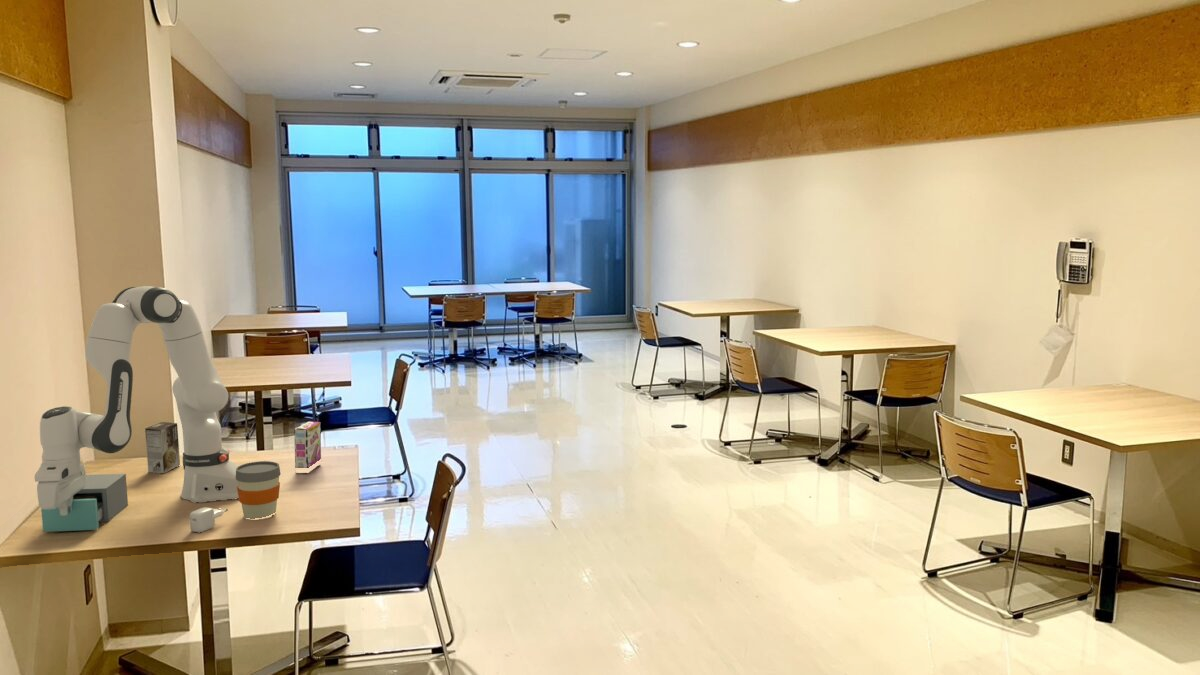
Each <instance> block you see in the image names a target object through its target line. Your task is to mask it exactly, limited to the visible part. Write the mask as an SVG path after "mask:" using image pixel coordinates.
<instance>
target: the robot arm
mask: <svg viewBox="0 0 1200 675" xmlns="http://www.w3.org/2000/svg"><path fill="white" fill-rule="evenodd" d="M151 323H152V324H153V323H156V324H157V325H158V326H159V328H160V331H161V335H162V338H163V341H164V344H165V348H166V351H167V354H168V358H169V360H170V364H171V366H172V367H173V369H174V371H175V372H176V374H177V376H178V377H176V379H175V380H174V381H173V383H172V389H171V391H172V394H173V396H174V398H175V403H176V405H177V406H176V407H177V411H178V416H179V419H180V423H181V428H182V440H183V452H182V467H183V470H184V472H183V473H184V474H183V484H182V490H181V492H180V497H181V498H182V499H184V500H188V501H191V503H193V502H194V503H195V504H197V503H196V502H199V503H207V501H210V502H217V501H216V500H221V501H228V500H227V499H232V500H236V499H235V498H239V496H238V491H237V486H238V483H237V480H236V468H237V467H238V466H239V465H238V464H236V463H235V462H233V461H232V460H230V456H229V455H230V450H229V449H228V450H225V449H224V448H223V447H222V446H223V445H222V444H223V442H222V426H221V423H220V422H219V419H218V416H217V412H219V411H221V410H223V409H224V408H225V406H226V405H227V404H228V402H229V392H228V390H227V388H226V386H225V385H224V383H223V381H222V379H221V376H220V374H219V372H218V370H217V367H216V366H215V364H214V362H213V360H212V358H211V355H210V352H209V350H208V347H207V343H206V339H205V336H204V332H203V329H202V326H201V324H200V320H199V318H198V316H197V313H196V312H195V309H194V308H193V306H192V304H190V302H188V301H186V300H182V299H179V298H178V296H176V294H175V293H173V292H172V291H171V290H169V289H167V288H165V287H162V286H152V285H150V286H149V285H144V286H131V287H127V288H124V289H123V290H121V291H120V292H119V293H118V294H117V295H116V296H115V298H114V300H112V302H108V303H104V304H102V305H100V306H99V307H98V308H97V310H96V312H95V314H94V317H93V319H92V322H91V325H90V328H89V331H88V334H87V338H86V343H85V360H86V362H87V363H88V364H89V366H90V367H91V368H92V369H94V371H97V372H98V373H99V374H100V375H101V376H102V378H103V379H104V380H105V383H106V387H107V388H106V389H107V390H106V399H105V401H106V402H105V410H104V415H103V414H98V413H92V412H84V411H82V410H81V411H80V410H77V409H75V408H73V407H72V406H65V405H64V406H59V407H54V408H51V409H48V410H47V411H45V412H44V413H43V414H42V415H41V418H40V422H39V442H40V445H41V447H42V454H41V464H40V466H39V468H38V470H37V471H36V473H35V474H34V481H35V482H37V485H36V492H37V493H36V494H37V503H38V506H39V507H40V510H41V509H43V510H49V509H55V508H57V507H58V508H59V510H60V515H61V516H63V515H67V514H68V513H70V512H71V511H72V508H71V506H72V502H73V495H75V494H76V493H77V492H79V491H80V490H82V489H83V488H84V487H86V483H87V479H86V475H87V474H86V473H87V472H86V468H85V465H84V464H83V463H82V461H81V451H80V450H81V449H83V448H88V449H92V450H97V451H99V452H100V451H101V452H103V453H105V454H115V453H119V452H120V451H122V450H123V449H125V447H126V446H127V445H128V444H129V442H130V440H131V438H132V434H133V432H132V424H131V423H132V422H131V405H132V395H133V394H132V393H133V381H134V380H133V379H134V378H133V377H134V374H133V373H134V371H133V367H132V365H131V346H132V343H133V337H134V336H133V335H134V332H135V331H136V328H137V327H138V326H139V325H140V324H151Z"/></svg>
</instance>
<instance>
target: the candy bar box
mask: <svg viewBox="0 0 1200 675" xmlns="http://www.w3.org/2000/svg"><path fill="white" fill-rule="evenodd" d="M321 439H322V437H321V422H320V421H307V422H305V423H302V424H301V425H299V426H297V427H295V428H294V459H295V460H294V467H295V468H309V467H310V466H312V465H313V464H315V463H316V462H317V461H319V460H320V459H321V460H322V447H321V446H322V442H321V441H322V440H321ZM295 468H294V469H295Z"/></svg>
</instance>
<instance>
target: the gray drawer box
mask: <svg viewBox="0 0 1200 675" xmlns="http://www.w3.org/2000/svg"><path fill="white" fill-rule="evenodd" d="M86 479H87V483H86V487H84V488H83V489H82V490H80V491H79V492H77V493H76V494H75V495H73V499H75V498H76V497H77V496H92V495H95V499H97V502H103V512H104V517H103V518H102V519H100V520H99V521H98V523H109V522H110V521H111V520H113V519H114V518H115V517H116V516H117V515H119V514H120V513H121V512H122V511H123V510H124V509H126V508H127V507H128V506H129V501H128V500H129V499H128V487H127V486H128V485H127V473H104V474H103V473H102V474H86Z"/></svg>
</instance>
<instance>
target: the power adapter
mask: <svg viewBox="0 0 1200 675" xmlns="http://www.w3.org/2000/svg"><path fill="white" fill-rule="evenodd" d="M228 510H229V509H228V508H225V509H223V510H222V508H221V507H217V508H212V507H205V506H204V507H200V508H198V509H195V510H193V511H191V512H190V513H189V527H190V528H189V529H190V531H191V532H194V533H200V532H201V533H203V532H206V531H208V530H210V529H212V528H214V527H215V525H216V524H215V519H217V518H219V517H222V515H223V514H224V513H226V512H228Z"/></svg>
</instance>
